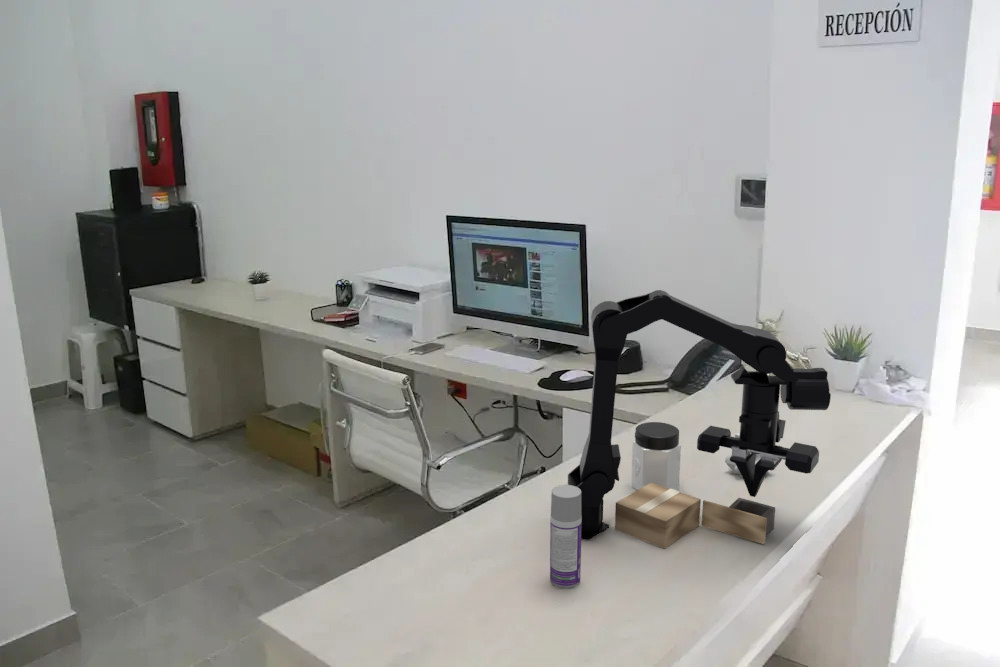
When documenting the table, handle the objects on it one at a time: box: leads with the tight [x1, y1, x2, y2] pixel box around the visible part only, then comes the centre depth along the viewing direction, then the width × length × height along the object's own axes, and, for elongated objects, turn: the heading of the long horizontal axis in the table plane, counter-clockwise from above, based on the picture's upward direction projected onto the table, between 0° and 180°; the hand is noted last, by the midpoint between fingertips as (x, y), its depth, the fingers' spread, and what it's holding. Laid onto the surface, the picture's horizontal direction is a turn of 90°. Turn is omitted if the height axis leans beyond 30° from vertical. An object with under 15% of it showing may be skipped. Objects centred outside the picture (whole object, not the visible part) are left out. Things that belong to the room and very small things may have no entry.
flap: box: [701, 497, 776, 545], centre depth 143 cm, size 11×5×5 cm, turn 53°
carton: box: [614, 482, 702, 549], centre depth 144 cm, size 11×10×5 cm
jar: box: [630, 421, 682, 491], centre depth 158 cm, size 9×8×12 cm
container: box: [549, 484, 582, 590], centre depth 127 cm, size 5×5×15 cm
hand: (753, 495), depth 141 cm, fingers closed
